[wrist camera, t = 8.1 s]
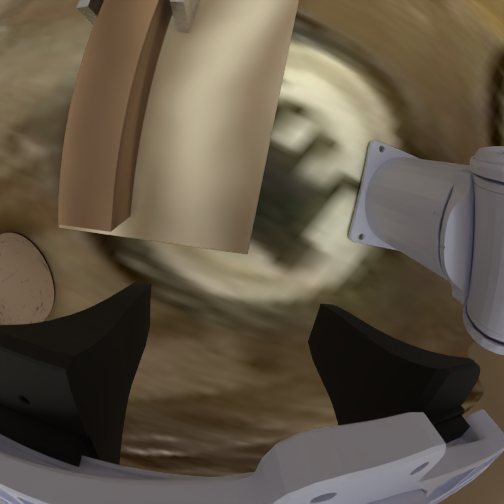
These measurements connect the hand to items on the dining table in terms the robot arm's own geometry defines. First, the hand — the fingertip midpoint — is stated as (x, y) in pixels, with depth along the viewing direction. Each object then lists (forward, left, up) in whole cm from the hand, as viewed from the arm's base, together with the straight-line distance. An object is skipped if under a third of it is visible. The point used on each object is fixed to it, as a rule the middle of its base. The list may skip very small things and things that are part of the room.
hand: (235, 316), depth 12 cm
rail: (+9, -10, -8) cm, 16 cm away
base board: (+6, -12, -9) cm, 16 cm away
